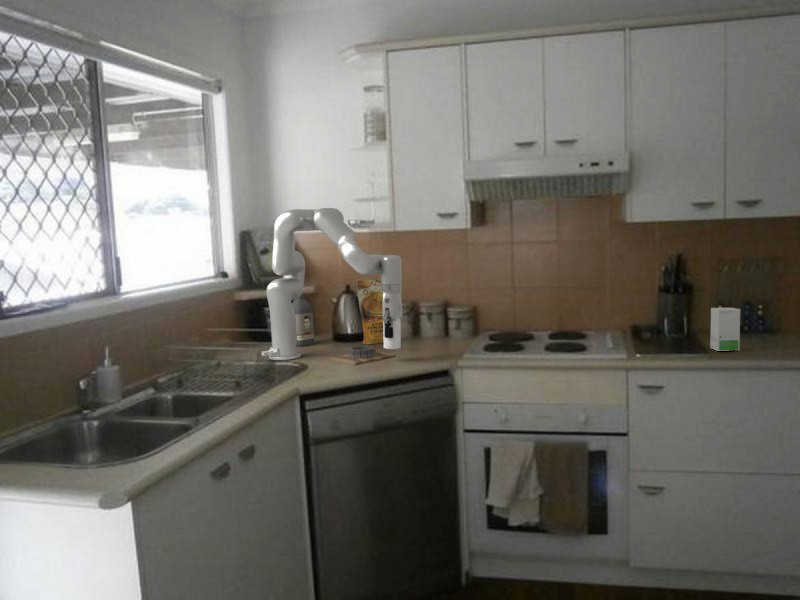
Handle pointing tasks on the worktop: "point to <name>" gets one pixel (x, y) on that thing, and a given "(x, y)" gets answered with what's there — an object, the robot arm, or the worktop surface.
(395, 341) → the can
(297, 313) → the liquor
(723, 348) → the skincare box
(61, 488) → the worktop surface
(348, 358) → the socket
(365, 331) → the pancake mix bag
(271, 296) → the robot arm
